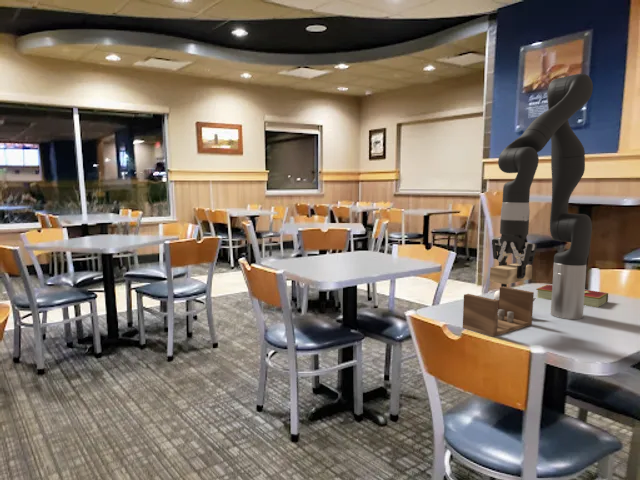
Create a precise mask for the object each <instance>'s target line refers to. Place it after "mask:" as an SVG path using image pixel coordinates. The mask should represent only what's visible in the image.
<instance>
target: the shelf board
mask: <svg viewBox="0 0 640 480" xmlns="http://www.w3.org/2000/svg"><path fill="white" fill-rule="evenodd" d="M517 266H519V265H518V262H515V263H510V264H507V265H503V266H499V265H497V266H492V267H490V268H489V269H490V270H489V282H492V283H496V284H500V285H501V284H507V285H510V284H515V283H519V282H523V281H529V280H532V275H533V265H532V264H528V265H526V271H525V272H526V273H525V277H524V278H522V279H518V278H517Z"/></svg>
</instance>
